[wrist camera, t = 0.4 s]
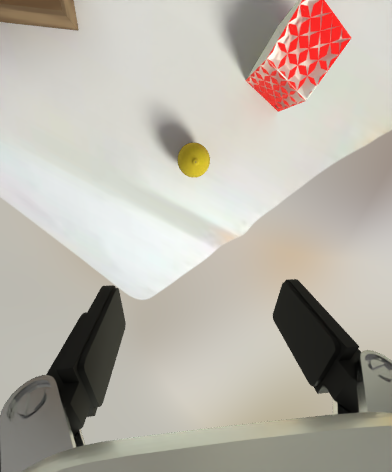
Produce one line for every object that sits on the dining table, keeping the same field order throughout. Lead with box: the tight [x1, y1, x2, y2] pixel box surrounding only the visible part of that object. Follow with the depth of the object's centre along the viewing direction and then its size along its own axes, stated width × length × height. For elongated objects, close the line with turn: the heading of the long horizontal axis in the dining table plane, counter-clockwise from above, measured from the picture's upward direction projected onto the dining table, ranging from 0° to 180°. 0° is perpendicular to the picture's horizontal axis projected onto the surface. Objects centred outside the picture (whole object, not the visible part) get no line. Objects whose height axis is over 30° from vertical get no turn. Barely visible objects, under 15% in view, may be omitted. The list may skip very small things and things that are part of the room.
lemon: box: [178, 143, 210, 177], centre depth 31 cm, size 6×6×8 cm
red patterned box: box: [246, 0, 351, 112], centre depth 26 cm, size 8×8×8 cm
